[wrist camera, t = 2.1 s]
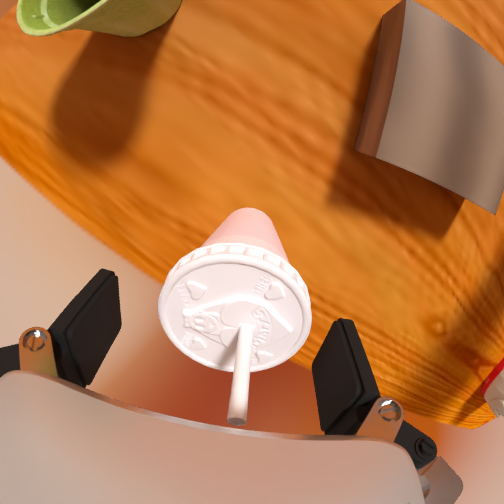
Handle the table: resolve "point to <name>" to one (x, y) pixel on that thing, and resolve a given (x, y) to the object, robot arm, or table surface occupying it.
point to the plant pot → (94, 16)
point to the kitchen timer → (495, 389)
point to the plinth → (436, 105)
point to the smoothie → (237, 303)
